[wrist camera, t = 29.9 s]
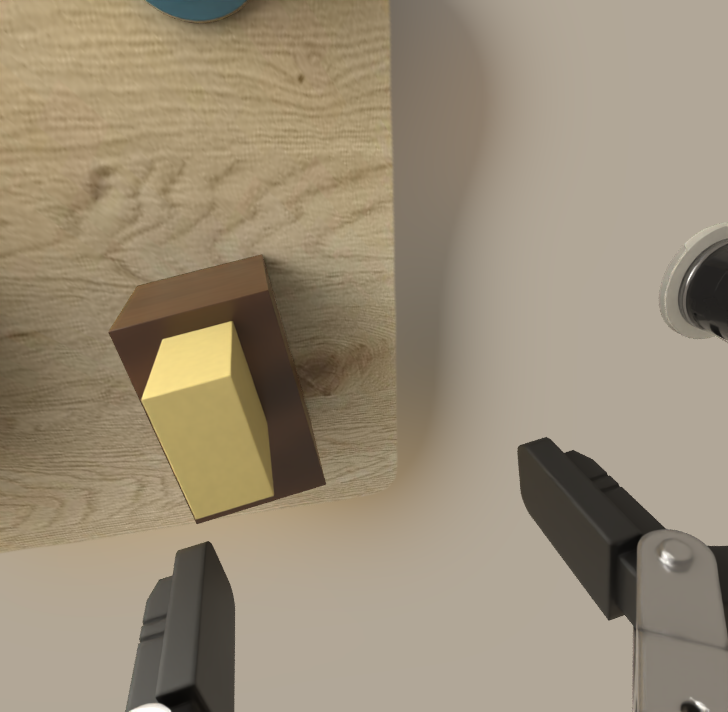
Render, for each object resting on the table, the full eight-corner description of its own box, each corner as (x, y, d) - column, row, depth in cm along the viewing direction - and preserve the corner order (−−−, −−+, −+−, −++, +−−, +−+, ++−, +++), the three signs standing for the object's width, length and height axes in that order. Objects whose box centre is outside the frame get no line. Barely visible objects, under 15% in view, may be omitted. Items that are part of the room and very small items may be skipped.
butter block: (267, 423, 37) (274, 496, 29) (204, 441, 36) (195, 520, 29) (232, 320, 33) (230, 374, 26) (161, 339, 32) (140, 399, 25)
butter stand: (310, 418, 49) (326, 484, 40) (204, 449, 48) (196, 524, 39) (262, 254, 42) (268, 289, 33) (136, 285, 41) (107, 331, 32)
